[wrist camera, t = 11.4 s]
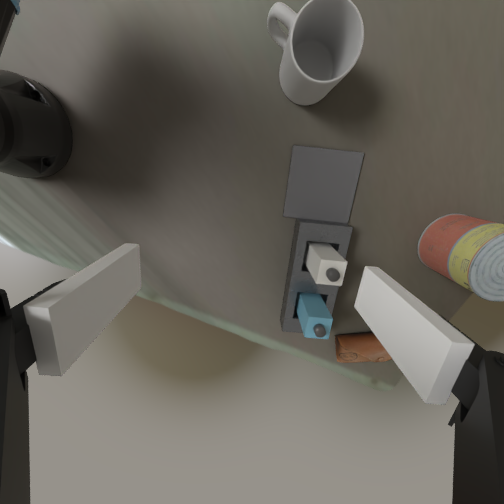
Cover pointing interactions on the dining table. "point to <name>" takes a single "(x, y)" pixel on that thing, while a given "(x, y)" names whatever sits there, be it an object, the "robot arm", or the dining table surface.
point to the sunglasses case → (360, 348)
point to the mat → (322, 183)
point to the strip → (299, 273)
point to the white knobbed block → (324, 263)
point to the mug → (316, 46)
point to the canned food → (466, 253)
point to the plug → (313, 315)
